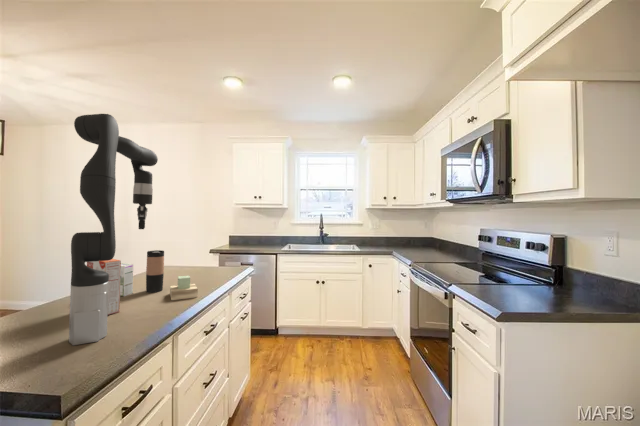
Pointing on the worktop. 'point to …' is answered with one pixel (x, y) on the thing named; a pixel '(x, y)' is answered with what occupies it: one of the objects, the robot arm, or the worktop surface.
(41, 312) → the worktop surface
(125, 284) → the syrup box
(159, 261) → the travel mug
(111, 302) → the cracker box
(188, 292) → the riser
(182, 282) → the cube
